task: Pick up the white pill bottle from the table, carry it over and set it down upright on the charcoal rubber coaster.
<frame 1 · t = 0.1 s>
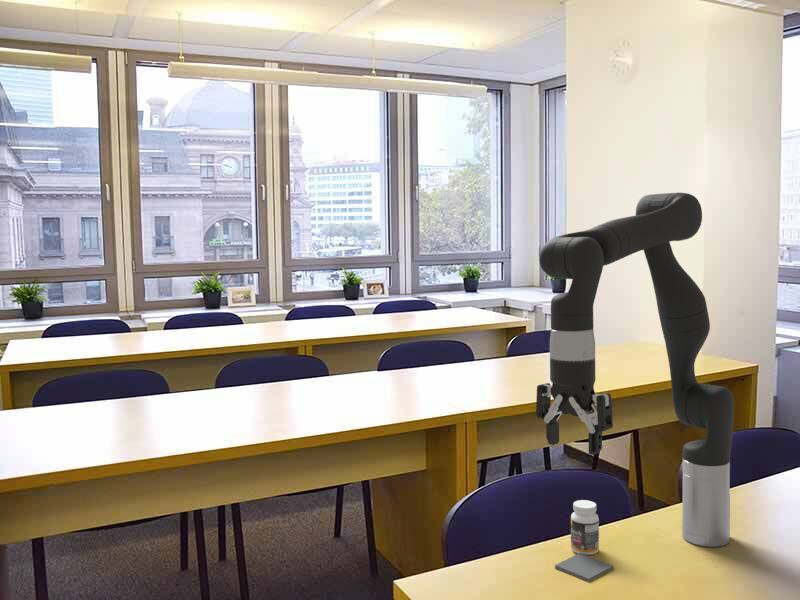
hand: (573, 448, 127), 29 cm above the table, fingers open, 8 cm apart
coaster: (584, 568, 146), on the table
pill bottle: (584, 551, 155), on the table
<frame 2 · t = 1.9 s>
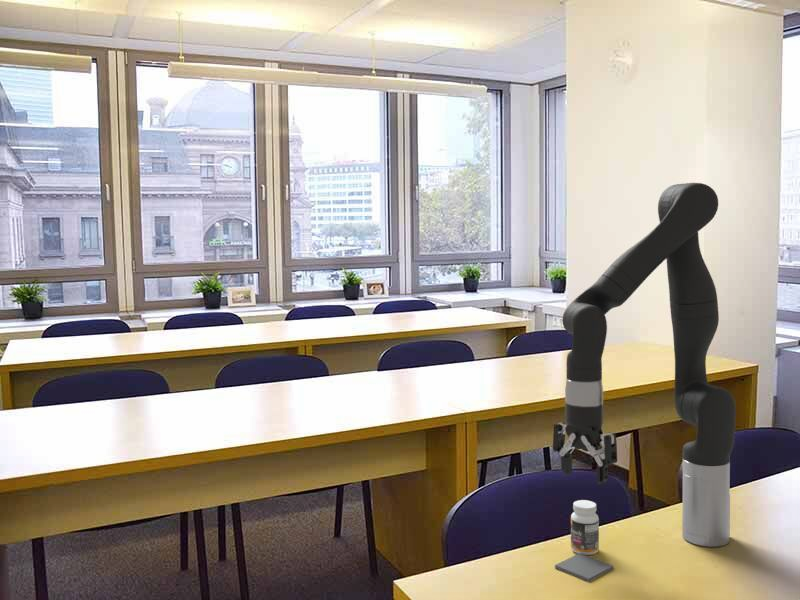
hand: (584, 478, 153), 15 cm above the table, fingers open, 8 cm apart
nothing on the table moved.
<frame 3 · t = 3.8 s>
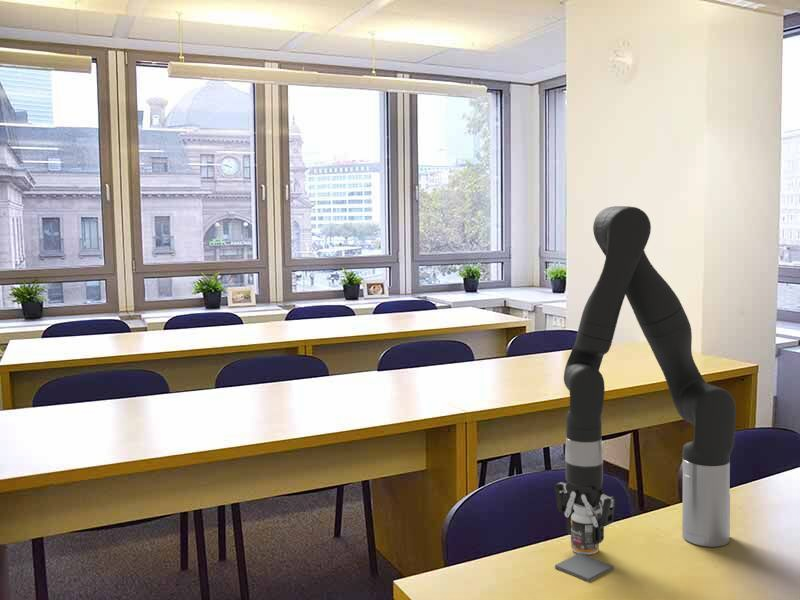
hand: (584, 538, 154), 3 cm above the table, fingers closed on pill bottle, 5 cm apart
pill bottle: (585, 551, 155), on the table, touching gripper
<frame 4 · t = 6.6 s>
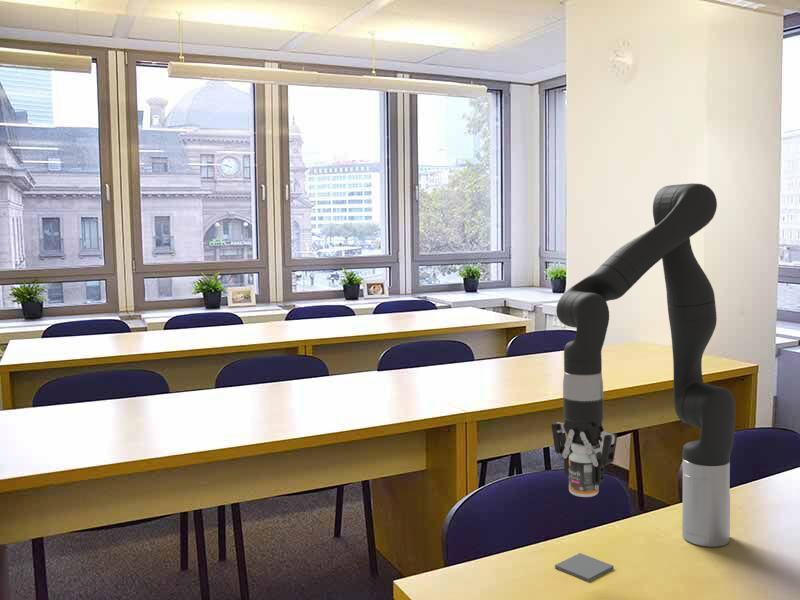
hand: (583, 479, 145), 18 cm above the table, fingers closed on pill bottle, 5 cm apart
pill bottle: (583, 493, 145), point 15 cm above the table, touching gripper
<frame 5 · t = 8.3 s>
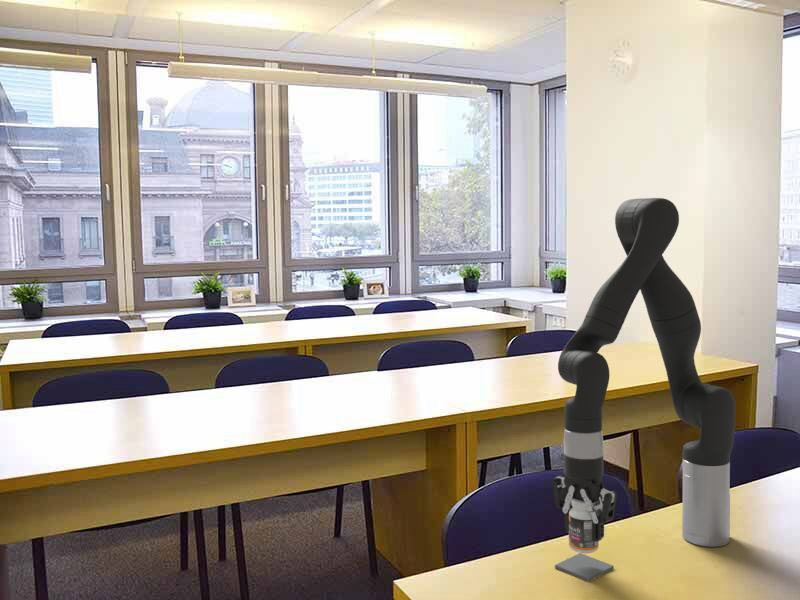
hand: (583, 535, 146), 7 cm above the table, fingers closed on pill bottle, 5 cm apart
pill bottle: (583, 549, 146), point 4 cm above the table, touching gripper
when the fingers open (5 cm above the table, at t = 9.7 s): pill bottle drops 1 cm, resting on coaster.
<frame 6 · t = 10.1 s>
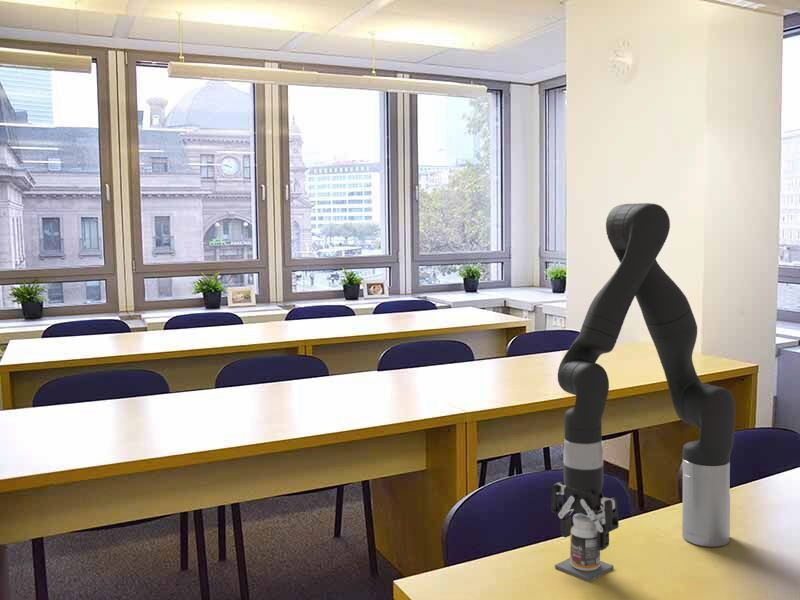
hand: (583, 542, 146), 5 cm above the table, fingers open, 8 cm apart
pill bottle: (585, 566, 146), resting on coaster
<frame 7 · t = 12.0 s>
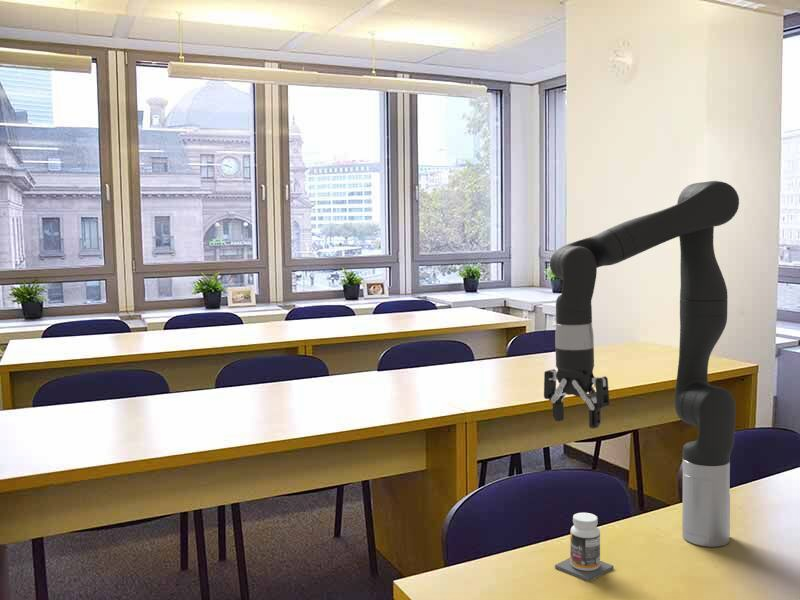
hand: (576, 424, 151), 27 cm above the table, fingers open, 8 cm apart
nothing on the table moved.
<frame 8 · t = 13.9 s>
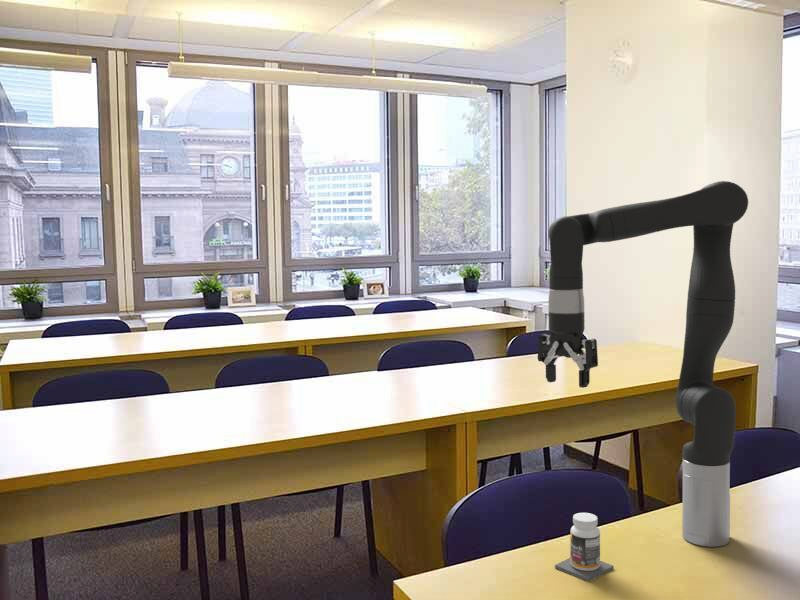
hand: (567, 384, 161), 33 cm above the table, fingers open, 8 cm apart
nothing on the table moved.
at the end: pill bottle inside the target area on the coaster (0.3 cm from its centre), point 0.4 cm above the coaster's base; pill bottle tilted 0°; the gripper is holding nothing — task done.
